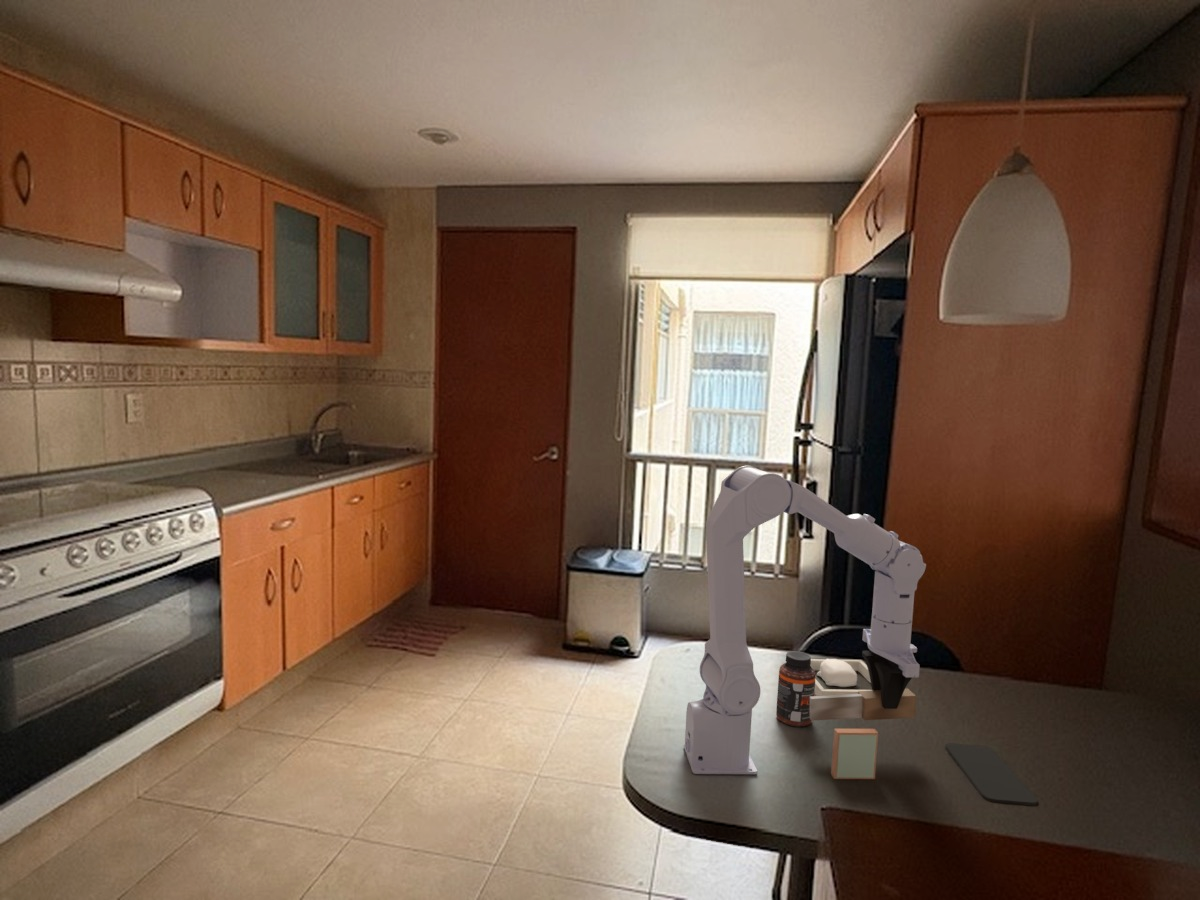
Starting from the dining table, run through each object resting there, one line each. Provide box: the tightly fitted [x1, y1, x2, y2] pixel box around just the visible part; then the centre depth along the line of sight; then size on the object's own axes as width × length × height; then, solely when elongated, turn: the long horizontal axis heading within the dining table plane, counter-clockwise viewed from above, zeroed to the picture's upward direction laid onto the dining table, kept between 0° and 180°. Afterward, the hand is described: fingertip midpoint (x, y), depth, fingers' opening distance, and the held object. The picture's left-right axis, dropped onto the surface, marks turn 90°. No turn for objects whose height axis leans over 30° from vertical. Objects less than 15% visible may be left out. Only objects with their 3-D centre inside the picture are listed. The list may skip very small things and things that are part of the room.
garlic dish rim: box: [810, 658, 872, 696], centre depth 132 cm, size 14×15×2 cm
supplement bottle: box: [776, 650, 816, 728], centre depth 117 cm, size 6×6×11 cm
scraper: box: [810, 688, 917, 722], centre depth 107 cm, size 16×2×4 cm, turn 93°
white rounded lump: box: [816, 657, 858, 688], centre depth 135 cm, size 8×7×4 cm
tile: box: [830, 728, 879, 780], centre depth 101 cm, size 6×1×7 cm, turn 93°
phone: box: [945, 742, 1038, 806], centre depth 103 cm, size 7×1×15 cm
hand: (885, 703), depth 108 cm, fingers closed on scraper, 2 cm apart
